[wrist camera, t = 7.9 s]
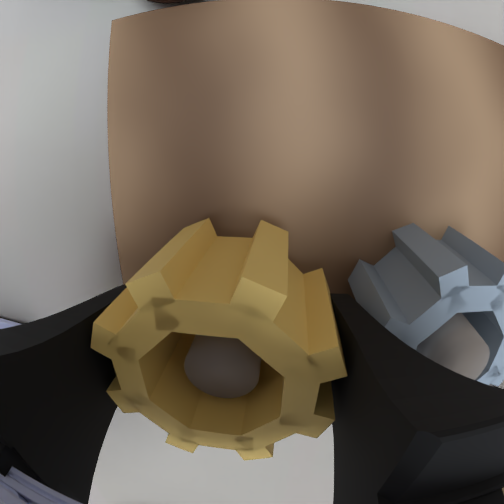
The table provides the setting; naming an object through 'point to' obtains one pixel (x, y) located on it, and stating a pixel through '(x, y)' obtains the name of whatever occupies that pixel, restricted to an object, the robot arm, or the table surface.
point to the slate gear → (436, 290)
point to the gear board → (304, 144)
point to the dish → (166, 1)
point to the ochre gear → (230, 326)
